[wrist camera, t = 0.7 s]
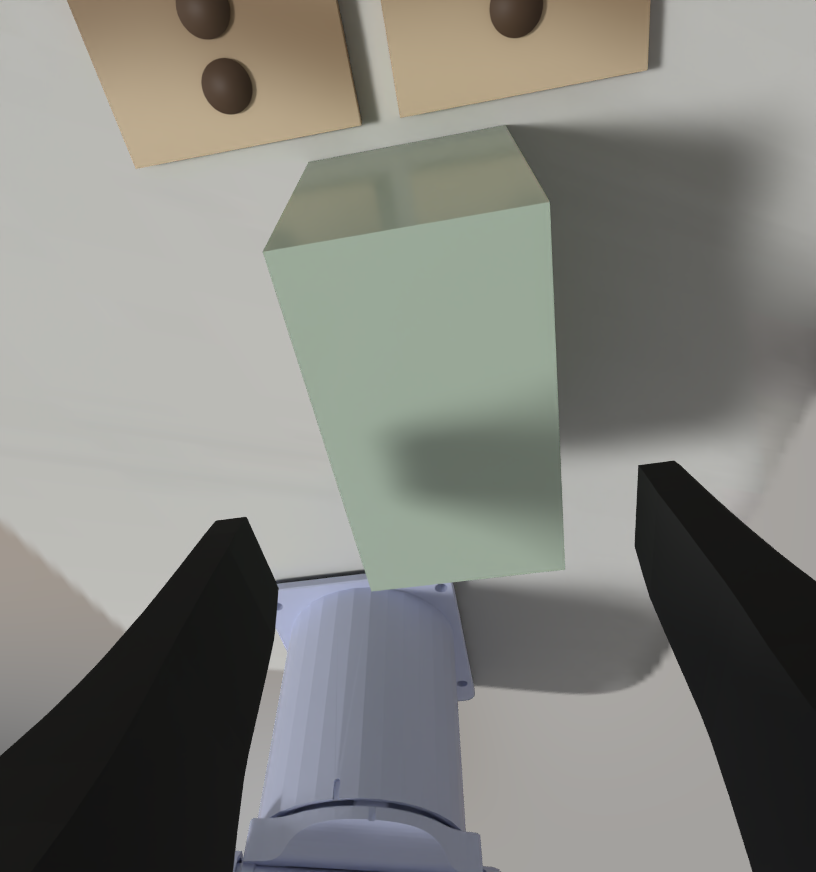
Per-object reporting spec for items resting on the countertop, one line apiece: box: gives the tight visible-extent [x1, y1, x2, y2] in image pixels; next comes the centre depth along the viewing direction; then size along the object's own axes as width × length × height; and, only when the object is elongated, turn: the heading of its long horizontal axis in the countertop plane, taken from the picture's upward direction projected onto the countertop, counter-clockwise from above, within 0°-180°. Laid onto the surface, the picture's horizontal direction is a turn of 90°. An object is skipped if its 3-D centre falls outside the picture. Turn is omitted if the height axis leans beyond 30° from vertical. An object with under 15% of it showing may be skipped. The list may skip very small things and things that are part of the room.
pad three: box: [67, 0, 362, 169], centre depth 15 cm, size 6×6×1 cm
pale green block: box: [263, 125, 565, 592], centre depth 17 cm, size 10×5×6 cm, turn 10°
